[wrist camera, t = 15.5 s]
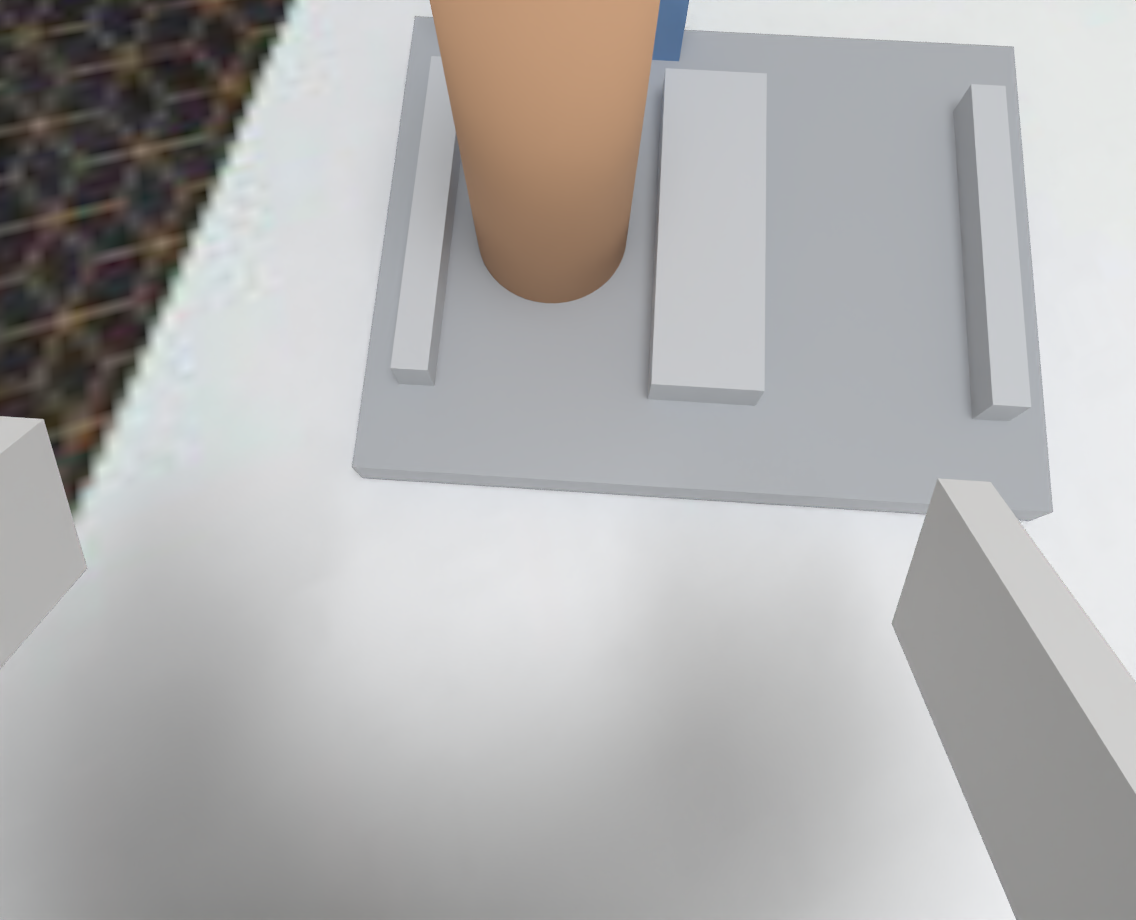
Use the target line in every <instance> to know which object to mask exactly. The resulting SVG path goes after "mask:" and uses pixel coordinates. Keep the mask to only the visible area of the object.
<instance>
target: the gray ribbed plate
mask: <svg viewBox="0 0 1136 920" xmlns="http://www.w3.org/2000/svg"><path fill="white" fill-rule="evenodd" d="M688 4H689V0H660V6H659V13H658V20H657V27H656V34H655V41H654V48H653V56H652V63H651V70H650V77H649V84H648V91H647V98H646V106H645V113H644V120H643V127H642V134H641V141H640V148H639V155H638V163H637V170H636V177H635V184H634V191H633V198H632V205H631V213H630V220H629V227H628V234H627V241H626V248H625V252H624V255H623V258H622V260H621V263H620V265H619V267H618V268H617V270H616V271H615V273H614V274H613V275H612V277H611V278H610V279H609V280H608V281H607V282H606V283H605V284H604V285H603V286H601V287H600V288H599V289H597V290H596V291H594V292H593V293H591V294H589V295H587V296H585V297H582V298H579V299H577V300H573V301H569V302H563V303H541V302H535V301H531V300H527V299H525V298H522V297H520V296H517V295H515V294H514V293H512V292H510V291H508V290H507V289H506V288H504V287H503V286H502V285H500V284H499V283H498V282H497V281H496V280H495V279H494V277H493V276H492V275H491V274H490V272H489V271H488V269H487V268H486V266H485V264H484V262H483V259H482V257H481V254H480V250H479V246H478V241H477V236H476V231H475V226H474V221H473V216H472V211H471V205H470V200H469V195H468V190H467V185H466V180H465V175H464V170H463V165H462V160H461V155H460V150H459V145H458V140H457V135H456V130H455V125H454V120H453V115H452V110H451V105H450V100H449V95H448V90H447V85H446V80H445V74H444V69H443V64H442V59H441V54H440V49H439V44H438V39H437V34H436V29H435V24H434V19H433V17H420V16H415V20H414V27H413V34H412V41H411V49H410V56H409V63H408V70H407V77H406V84H405V92H404V99H403V106H402V113H401V120H400V127H399V135H398V142H397V149H396V156H395V163H394V170H393V178H392V185H391V192H390V199H389V206H388V213H387V221H386V228H385V235H384V242H383V249H382V256H381V264H380V271H379V278H378V285H377V292H376V299H375V307H374V314H373V321H372V328H371V335H370V342H369V350H368V357H367V364H366V371H365V378H364V385H363V393H362V400H361V407H360V414H359V421H358V428H357V435H356V443H355V450H354V457H353V464H352V468H353V469H354V470H355V471H356V472H357V473H358V474H359V475H360V476H361V477H362V478H373V479H388V480H404V481H419V482H435V483H450V484H466V485H481V486H497V487H512V488H528V489H544V490H559V491H575V492H590V493H606V494H621V495H637V496H652V497H668V498H683V499H699V500H714V501H730V502H745V503H761V504H777V505H792V506H808V507H823V508H839V509H854V510H870V511H885V512H901V513H916V514H926V513H927V510H928V507H929V504H930V501H931V498H932V494H933V491H934V488H935V485H936V482H937V479H938V478H940V479H955V480H970V481H985V482H991V483H992V485H993V486H994V487H995V489H996V490H997V491H998V493H999V494H1000V496H1001V497H1002V498H1003V500H1004V501H1005V502H1006V504H1007V505H1008V507H1009V508H1010V509H1011V511H1012V512H1013V513H1014V515H1015V516H1016V518H1017V519H1018V520H1025V521H1031V520H1033V519H1036V518H1039V517H1041V516H1044V515H1046V514H1049V513H1052V512H1053V506H1052V495H1051V483H1050V471H1049V459H1048V447H1047V435H1046V424H1045V412H1044V400H1043V388H1042V376H1041V364H1040V353H1039V341H1038V329H1037V317H1036V305H1035V293H1034V282H1033V270H1032V258H1031V246H1030V234H1029V222H1028V211H1027V199H1026V187H1025V175H1024V163H1023V151H1022V140H1021V128H1020V116H1019V104H1018V92H1017V80H1016V69H1015V57H1014V47H1011V46H991V45H971V44H952V43H932V42H912V41H893V40H873V39H853V38H834V37H814V36H794V35H775V34H755V33H735V32H716V31H696V30H684V28H685V22H686V16H687V10H688Z"/></svg>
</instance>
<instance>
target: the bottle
mask: <svg viewBox="0 0 1136 920" xmlns="http://www.w3.org/2000/svg"><path fill="white" fill-rule="evenodd" d="M430 4H431V9H432V14H433V19H434V24H435V29H436V34H437V39H438V44H439V49H440V54H441V59H442V64H443V69H444V74H445V80H446V85H447V90H448V95H449V100H450V105H451V110H452V115H453V120H454V125H455V130H456V135H457V140H458V145H459V150H460V155H461V160H462V165H463V170H464V175H465V180H466V185H467V190H468V195H469V200H470V205H471V211H472V216H473V221H474V226H475V231H476V236H477V241H478V246H479V250H480V254H481V257H482V259H483V262H484V264H485V266H486V268H487V269H488V271H489V272H490V274H491V275H492V276H493V277H494V279H495V280H496V281H497V282H498V283H499V284H500V285H502V286H503V287H504V288H506V289H507V290H508V291H510V292H512V293H514V294H515V295H517V296H520V297H522V298H525V299H527V300H531V301H535V302H541V303H563V302H569V301H573V300H577V299H579V298H582V297H585V296H587V295H589V294H591V293H593V292H594V291H596V290H597V289H599V288H600V287H601V286H603V285H604V284H605V283H606V282H607V281H608V280H609V279H610V278H611V277H612V275H613V274H614V273H615V271H616V270H617V268H618V267H619V265H620V263H621V260H622V258H623V255H624V252H625V248H626V241H627V234H628V227H629V220H630V213H631V205H632V198H633V191H634V184H635V177H636V170H637V163H638V155H639V148H640V141H641V134H642V127H643V120H644V113H645V106H646V98H647V91H648V84H649V77H650V70H651V63H652V56H653V48H654V41H655V34H656V27H657V20H658V13H659V6H660V0H430Z"/></svg>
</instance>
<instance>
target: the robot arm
mask: <svg viewBox="0 0 1136 920" xmlns="http://www.w3.org/2000/svg"><path fill="white" fill-rule="evenodd" d="M86 569H87V566H86V562H85V559H84V555H83V552H82V549H81V545H80V542H79V538H78V535H77V532H76V528H75V525H74V521H73V518H72V515H71V511H70V508H69V504H68V501H67V498H66V494H65V491H64V487H63V484H62V480H61V477H60V474H59V470H58V467H57V463H56V460H55V457H54V453H53V450H52V446H51V443H50V440H49V436H48V433H47V429H46V426H45V423H44V419H32V418H17V417H2V416H0V669H1V668H2V666H3V665H4V664H5V663H6V662H7V661H8V659H9V658H10V657H11V656H12V655H13V654H14V653H15V651H16V650H17V649H18V648H19V647H20V646H21V644H22V643H23V642H24V641H25V640H26V639H27V638H28V636H29V635H30V634H31V633H32V632H33V631H34V629H35V628H36V627H37V626H38V625H39V624H40V623H41V621H42V620H43V619H44V618H45V617H46V616H47V614H48V613H49V612H50V611H51V610H52V609H53V608H54V606H55V605H56V604H57V603H58V602H59V601H60V599H61V598H62V597H63V596H64V595H65V594H66V593H67V591H68V590H69V589H70V588H71V587H72V586H73V584H74V583H75V582H76V581H77V580H78V579H79V578H80V576H81V575H82V574H83V573H84V572H85V571H86ZM892 625H893V628H894V630H895V633H896V635H897V637H898V640H899V642H900V644H901V647H902V649H903V652H904V654H905V656H906V659H907V661H908V663H909V666H910V668H911V671H912V673H913V675H914V678H915V680H916V682H917V685H918V687H919V690H920V692H921V694H922V697H923V699H924V701H925V704H926V706H927V709H928V711H929V713H930V716H931V718H932V720H933V723H934V725H935V728H936V730H937V732H938V735H939V737H940V739H941V742H942V744H943V747H944V749H945V751H946V754H947V756H948V759H949V761H950V763H951V766H952V768H953V770H954V773H955V775H956V778H957V780H958V782H959V785H960V787H961V789H962V792H963V794H964V797H965V799H966V801H967V804H968V806H969V808H970V811H971V813H972V816H973V818H974V820H975V823H976V825H977V827H978V830H979V832H980V835H981V837H982V839H983V842H984V844H985V846H986V849H987V851H988V854H989V856H990V858H991V861H992V863H993V865H994V868H995V870H996V873H997V875H998V877H999V880H1000V882H1001V884H1002V887H1003V889H1004V892H1005V894H1006V896H1007V899H1008V901H1009V904H1010V906H1011V908H1012V911H1013V913H1014V915H1015V918H1016V920H1136V682H1135V680H1134V679H1133V678H1132V676H1131V675H1130V673H1129V672H1128V671H1127V669H1126V668H1125V667H1124V665H1123V664H1122V662H1121V661H1120V660H1119V658H1118V657H1117V655H1116V654H1115V653H1114V651H1113V650H1112V649H1111V647H1110V646H1109V644H1108V643H1107V642H1106V640H1105V639H1104V638H1103V636H1102V635H1101V633H1100V632H1099V631H1098V629H1097V628H1096V627H1095V625H1094V624H1093V622H1092V621H1091V620H1090V618H1089V617H1088V615H1087V614H1086V613H1085V611H1084V610H1083V609H1082V607H1081V606H1080V604H1079V603H1078V602H1077V600H1076V599H1075V598H1074V596H1073V595H1072V593H1071V592H1070V591H1069V589H1068V588H1067V587H1066V585H1065V584H1064V582H1063V581H1062V580H1061V578H1060V577H1059V576H1058V574H1057V573H1056V571H1055V570H1054V569H1053V567H1052V566H1051V564H1050V563H1049V562H1048V560H1047V559H1046V558H1045V556H1044V555H1043V553H1042V552H1041V551H1040V549H1039V548H1038V547H1037V545H1036V544H1035V542H1034V541H1033V540H1032V538H1031V537H1030V536H1029V534H1028V533H1027V531H1026V530H1025V529H1024V527H1023V526H1022V524H1021V523H1020V522H1019V520H1018V519H1017V518H1016V516H1015V515H1014V513H1013V512H1012V511H1011V509H1010V508H1009V507H1008V505H1007V504H1006V502H1005V501H1004V500H1003V498H1002V497H1001V496H1000V494H999V493H998V491H997V490H996V489H995V487H994V486H993V485H992V483H991V482H985V481H970V480H955V479H940V478H938V479H937V482H936V485H935V488H934V491H933V494H932V498H931V501H930V504H929V507H928V510H927V513H926V517H925V520H924V523H923V526H922V529H921V532H920V536H919V539H918V542H917V545H916V548H915V551H914V555H913V558H912V561H911V564H910V567H909V570H908V574H907V577H906V580H905V583H904V586H903V589H902V593H901V596H900V599H899V602H898V605H897V608H896V612H895V615H894V618H893V621H892Z"/></svg>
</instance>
